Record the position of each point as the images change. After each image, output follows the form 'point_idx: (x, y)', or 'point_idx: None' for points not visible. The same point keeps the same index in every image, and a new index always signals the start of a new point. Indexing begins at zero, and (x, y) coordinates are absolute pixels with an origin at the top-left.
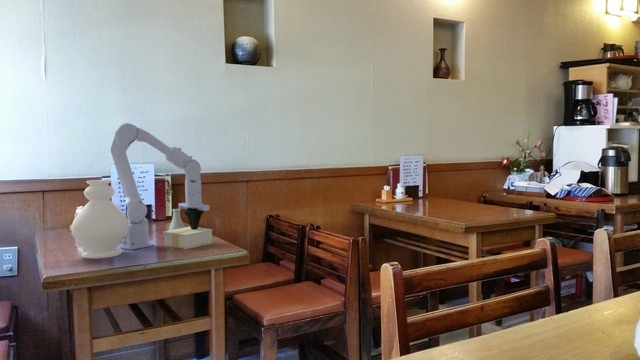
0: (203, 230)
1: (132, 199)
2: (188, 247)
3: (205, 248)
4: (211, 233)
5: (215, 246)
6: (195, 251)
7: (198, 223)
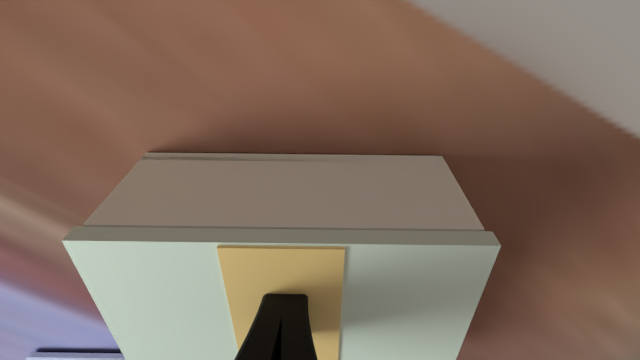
0: (436, 315)
1: None
2: None
3: (503, 285)
4: (473, 219)
5: (540, 221)
6: (492, 345)
7: (314, 350)
